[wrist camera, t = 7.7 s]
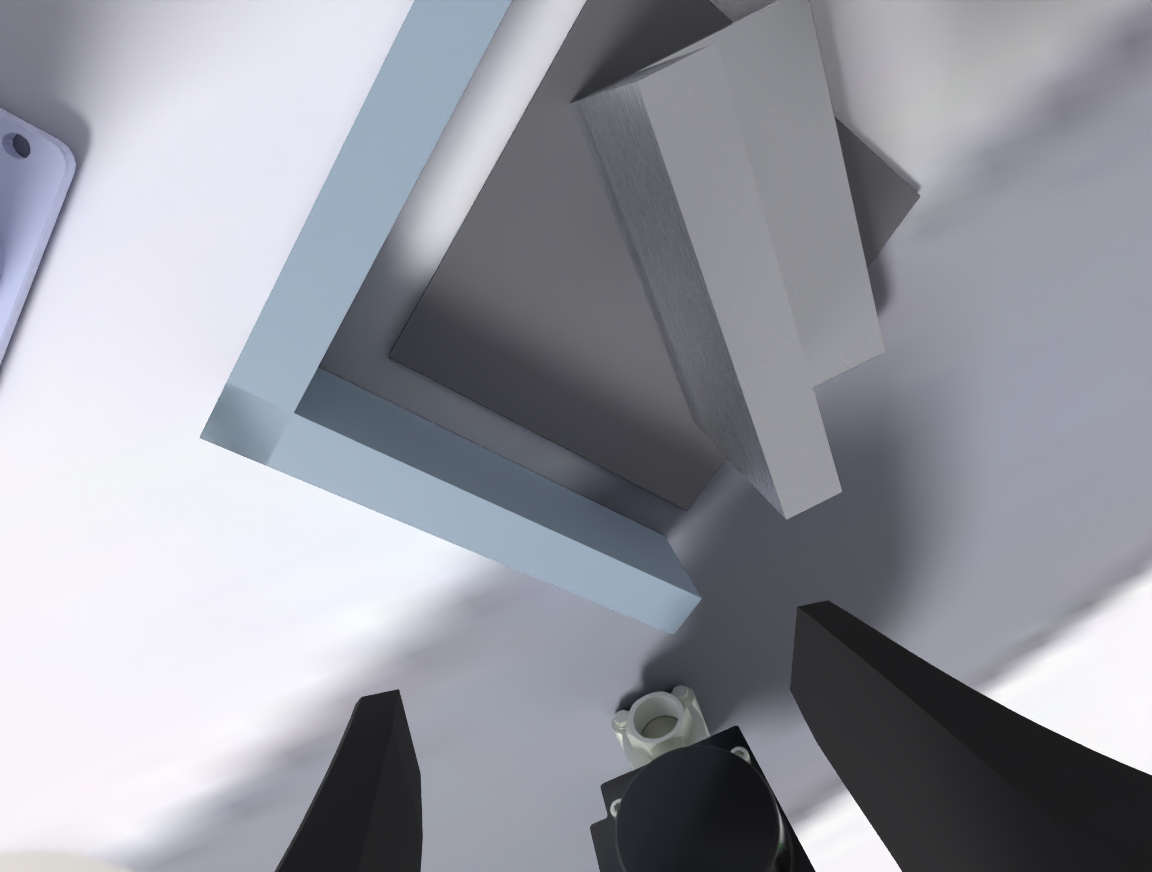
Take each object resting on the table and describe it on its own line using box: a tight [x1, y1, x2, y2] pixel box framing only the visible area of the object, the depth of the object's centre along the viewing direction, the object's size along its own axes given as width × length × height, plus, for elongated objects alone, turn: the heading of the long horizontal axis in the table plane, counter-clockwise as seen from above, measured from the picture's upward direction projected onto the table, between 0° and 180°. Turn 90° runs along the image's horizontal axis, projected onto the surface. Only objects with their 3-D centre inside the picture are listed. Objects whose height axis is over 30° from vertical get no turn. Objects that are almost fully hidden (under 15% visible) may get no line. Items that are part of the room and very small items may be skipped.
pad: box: [389, 0, 920, 511], centre depth 19 cm, size 11×12×1 cm
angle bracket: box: [570, 0, 885, 520], centre depth 16 cm, size 10×6×6 cm, turn 24°
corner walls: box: [200, 0, 702, 635], centre depth 17 cm, size 14×15×4 cm
